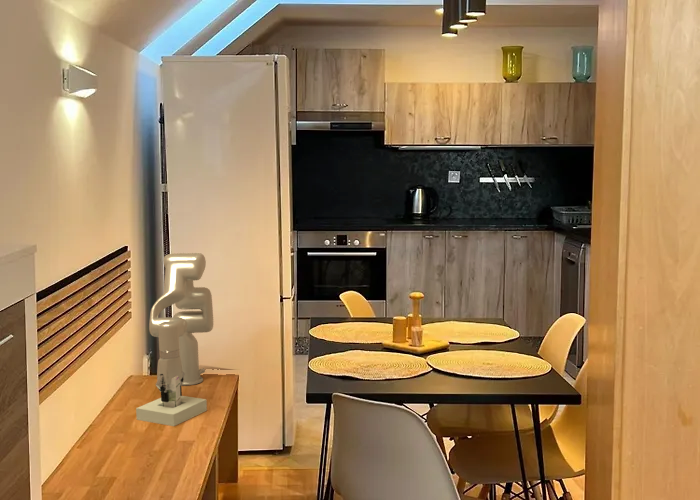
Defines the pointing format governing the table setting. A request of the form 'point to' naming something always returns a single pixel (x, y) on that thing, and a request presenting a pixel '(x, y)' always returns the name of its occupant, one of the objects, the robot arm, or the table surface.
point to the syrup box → (173, 393)
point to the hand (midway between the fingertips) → (171, 398)
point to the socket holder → (171, 411)
